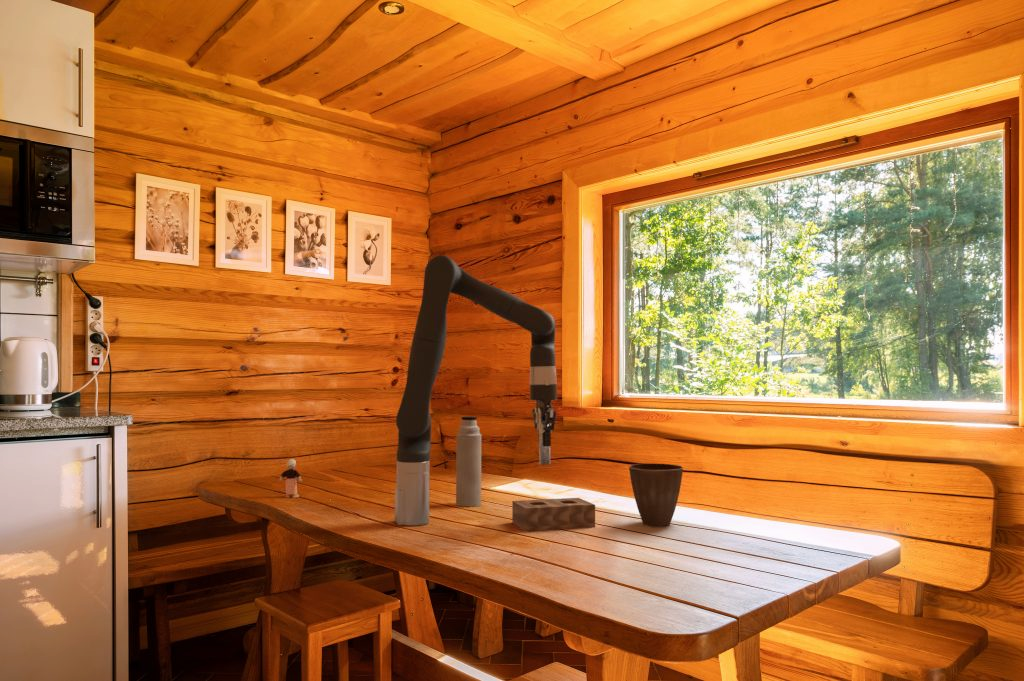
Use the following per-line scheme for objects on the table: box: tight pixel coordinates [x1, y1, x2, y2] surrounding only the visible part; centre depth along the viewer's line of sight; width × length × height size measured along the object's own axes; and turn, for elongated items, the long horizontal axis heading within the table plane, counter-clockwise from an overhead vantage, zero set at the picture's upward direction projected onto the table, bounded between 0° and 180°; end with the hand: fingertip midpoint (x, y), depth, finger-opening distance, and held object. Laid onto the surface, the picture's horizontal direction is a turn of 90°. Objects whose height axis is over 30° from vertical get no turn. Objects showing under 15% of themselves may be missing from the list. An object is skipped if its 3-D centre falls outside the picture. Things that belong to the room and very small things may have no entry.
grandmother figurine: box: [278, 458, 303, 499], centre depth 253 cm, size 8×4×13 cm, turn 94°
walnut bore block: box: [511, 497, 596, 532], centre depth 209 cm, size 20×12×6 cm, turn 107°
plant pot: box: [628, 463, 684, 527], centre depth 211 cm, size 15×15×16 cm
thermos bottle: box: [455, 416, 482, 508], centre depth 240 cm, size 8×8×28 cm
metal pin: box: [538, 419, 551, 466], centre depth 208 cm, size 3×3×14 cm
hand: (544, 445), depth 208 cm, fingers closed on metal pin, 3 cm apart
